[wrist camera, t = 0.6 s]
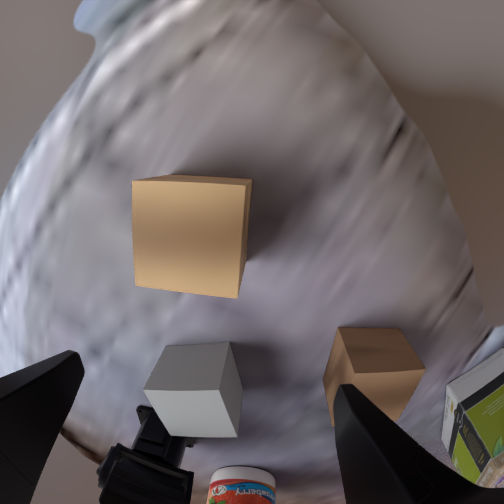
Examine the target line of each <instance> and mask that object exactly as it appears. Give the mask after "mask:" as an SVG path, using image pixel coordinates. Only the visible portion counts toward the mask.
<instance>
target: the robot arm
mask: <svg viewBox="0 0 504 504" xmlns="http://www.w3.org/2000/svg"><path fill="white" fill-rule="evenodd" d="M84 373H85V370H84V367H83V364H82V361H81V358H80V355H79V354H78V353H77V352H75V351H71V350H67V351H65V352H62V353H60V354H58V355H55V356H53V357H50V358H48V359H45V360H43V361H41V362H38V363H36V364H33V365H31V366H28V367H26V368H23V369H21V370H19V371H16V372H14V373H11V374H9V375H6V376H4V377H1V378H0V504H30V502H31V499H32V496H33V494H34V491H35V489H36V486H37V483H38V480H39V478H40V475H41V473H42V470H43V468H44V466H45V463H46V460H47V458H48V456H49V454H50V452H51V449H52V447H53V445H54V443H55V441H56V438H57V436H58V434H59V432H60V430H61V428H62V426H63V424H64V422H65V420H66V418H67V416H68V414H69V412H70V409H71V407H72V405H73V402H74V400H75V397H76V395H77V392H78V390H79V387H80V384H81V382H82V379H83V377H84ZM136 411H137V414H138V417H139V420H140V423H141V427H140V429H139V431H138V434H137V436H136V438H135V440H134V443H133V445H132V447H131V449H129V448H127V447H125V446H123V445H122V444H120V443H118V444H117V445H116V447H114V446H112V447H111V449H110V451H109V453H108V455H107V457H106V458H105V459H104V461H103V462H102V463H101V465H100V466H99V468H98V469H97V475H98V477H99V479H98V481H99V483H98V487H99V488H101V489H103V490H102V492H101V495H100V498H99V503H100V504H190V500H191V493H192V485H193V478H194V472H191V471H186V470H183V469H180V466H181V462H182V458H183V455H184V451H185V448H186V447H190V448H192V447H193V446H194V440H193V437H187V436H172V435H170V434H169V432H168V431H167V429H166V427H165V426H164V424H163V423H162V421H161V419H160V418H159V416H158V415H157V413H156V411H155V410H153V409H149V408H145V407H142V406H138V407H137V409H136ZM333 413H334V426H335V441H336V449H337V455H338V460H339V465H340V471H341V476H342V482H343V487H344V493H345V499H346V504H504V488H486V487H482V486H479V485H476V484H474V483H472V482H471V481H469V480H467V479H466V478H464V477H463V476H461V475H460V474H458V473H456V472H455V471H453V470H452V469H450V468H449V467H447V466H446V465H445V464H443V463H442V462H440V461H439V460H437V459H436V458H435V457H434V456H433V455H431V454H430V453H429V452H428V451H426V450H425V449H424V448H423V447H422V446H421V445H418V443H417V442H416V441H415V440H414V439H413V438H412V437H410V436H409V435H408V434H407V433H406V432H405V431H404V430H403V429H401V428H400V427H399V426H398V425H397V424H396V423H395V422H394V421H393V420H391V419H390V418H389V417H388V416H387V415H386V414H385V413H384V412H383V411H381V410H380V409H379V408H378V407H377V406H376V405H375V404H374V403H373V402H372V401H371V400H369V399H368V398H367V397H366V396H365V395H364V394H363V393H362V392H361V391H360V390H359V389H358V388H356V387H355V386H354V385H353V384H351V383H348V384H340V385H339V386H338V389H337V392H336V395H335V398H334V402H333Z"/></svg>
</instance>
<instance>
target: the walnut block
mask: <svg viewBox="0 0 504 504" xmlns="http://www.w3.org/2000/svg"><path fill="white" fill-rule="evenodd" d="M425 370H426V368H425V367H424V365H423V364H422V362H421V360H420V359H419V357H418V356H417V354H416V353H415V351H414V350H413V348H412V347H411V345H410V344H409V342H408V341H407V339H406V338H405V336H404V335H403V333H402V332H401V330H400V329H399V328H350V327H338V328H337V332H336V335H335V339H334V343H333V346H332V350H331V353H330V357H329V360H328V363H327V367H326V370H325V373H324V376H323V383H324V388H325V393H326V398H327V403H328V408H329V413H330V418H331V423H332V426H334V413H333V402H334V398H335V395H336V392H337V389H338V386H339V385H340V384H348V383H351V384H353V385H354V386H355V387H356V388H358V389H359V390H360V391H361V392H362V393H363V394H364V395H365V396H366V397H367V398H368V399H369V400H371V401H372V402H373V403H374V404H375V405H376V406H377V407H378V408H379V409H380V410H381V411H383V412H384V413H385V414H386V415H387V416H388V417H389V418H390V419H391V420H393V421H397V420H398V418H399V417H400V415H401V413H402V412H403V410H404V408H405V407H406V405H407V403H408V402H409V400H410V398H411V396H412V395H413V393H414V391H415V389H416V387H417V386H418V384H419V382H420V380H421V378H422V376H423V374H424V372H425Z"/></svg>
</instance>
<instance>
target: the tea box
mask: <svg viewBox="0 0 504 504" xmlns="http://www.w3.org/2000/svg"><path fill="white" fill-rule="evenodd" d="M441 439H442V441H443V443H444V445H445V448H446V450H447V451H448V453H449V455H450V458H451V460H452V462H453V464H454V466H455V468H456V470H457V473H458V474H460V475H461V476H463V477H464V478H466V479H467V480H469V481H471V482H472V483H474V484H476V485H479V486H482V487H486V488H498V487H500V486H501V485H502V484H503V483H504V348H501V349H499V350H498V351H497V352H495V353H494V354H492V355H491V356H490V357H488V358H487V359H485V360H484V361H482V362H481V363H480V364H478V365H477V366H475V367H474V368H472V369H471V370H469V371H467V372H466V373H464V374H463V375H461V376H460V377H458V378H456V379H455V380H453V381H452V382H450V383H449V384H447V389H446V403H445V413H444V422H443V429H442V436H441Z"/></svg>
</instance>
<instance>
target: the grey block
mask: <svg viewBox="0 0 504 504" xmlns="http://www.w3.org/2000/svg"><path fill="white" fill-rule="evenodd" d="M143 390H144V392H145V394H146V396H147V397H148V399H149V401H150V403H151V404H152V406H153V408H154V410H155V411H156V413H157V415H158V416H159V418H160V419H161V421H162V423H163V424H164V426H165V427H166V429H167V431H168V432H169V434H170V435H172V436H187V437H238V429H239V421H240V412H241V404H242V396H243V387H242V384H241V381H240V377H239V374H238V370H237V367H236V363H235V360H234V356H233V353H232V349H231V346H230V342H220V343H208V344H194V345H177V346H165V348H164V350H163V352H162V354H161V356H160V358H159V360H158V362H157V364H156V366H155V367H154V369H153V371H152V373H151V375H150V377H149V379H148V381H147V383H146V385H145V387H144V389H143Z"/></svg>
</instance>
